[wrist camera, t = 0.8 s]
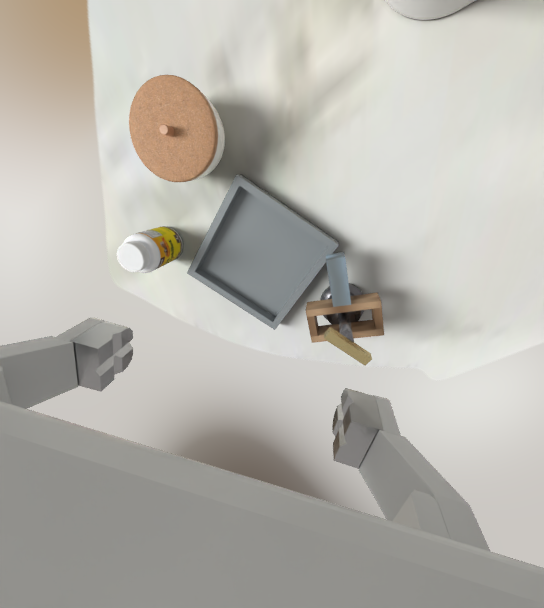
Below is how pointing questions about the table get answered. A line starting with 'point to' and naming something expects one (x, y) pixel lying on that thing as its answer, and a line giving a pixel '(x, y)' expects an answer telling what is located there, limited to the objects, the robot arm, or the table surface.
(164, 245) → the supplement bottle
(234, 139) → the table surface
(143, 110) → the lidded jar
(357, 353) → the plunger
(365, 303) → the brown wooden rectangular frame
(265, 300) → the tray
